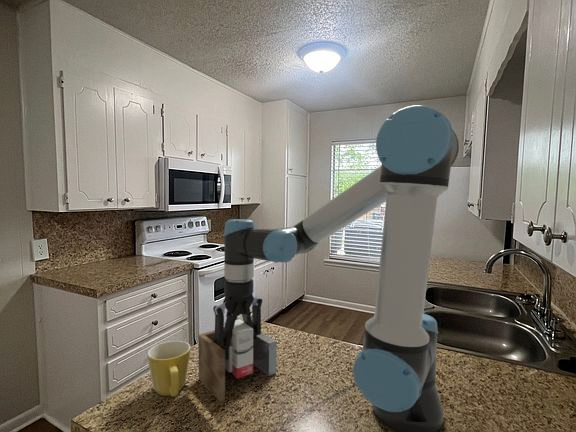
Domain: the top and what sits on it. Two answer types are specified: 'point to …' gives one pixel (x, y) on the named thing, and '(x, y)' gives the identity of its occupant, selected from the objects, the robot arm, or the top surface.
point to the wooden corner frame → (212, 365)
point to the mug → (169, 366)
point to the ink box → (242, 349)
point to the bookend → (265, 354)
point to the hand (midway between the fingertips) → (238, 365)
